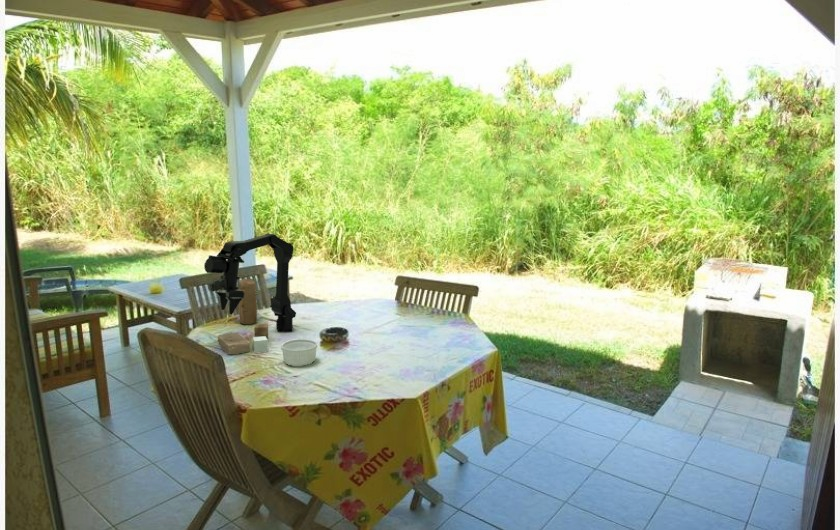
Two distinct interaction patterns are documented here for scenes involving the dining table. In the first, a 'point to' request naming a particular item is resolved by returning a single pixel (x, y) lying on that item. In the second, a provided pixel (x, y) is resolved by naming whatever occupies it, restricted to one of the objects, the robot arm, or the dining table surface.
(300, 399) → the dining table surface
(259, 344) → the grey block
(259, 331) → the walnut block
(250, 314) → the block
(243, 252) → the robot arm
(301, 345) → the ramekin
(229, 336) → the brick
